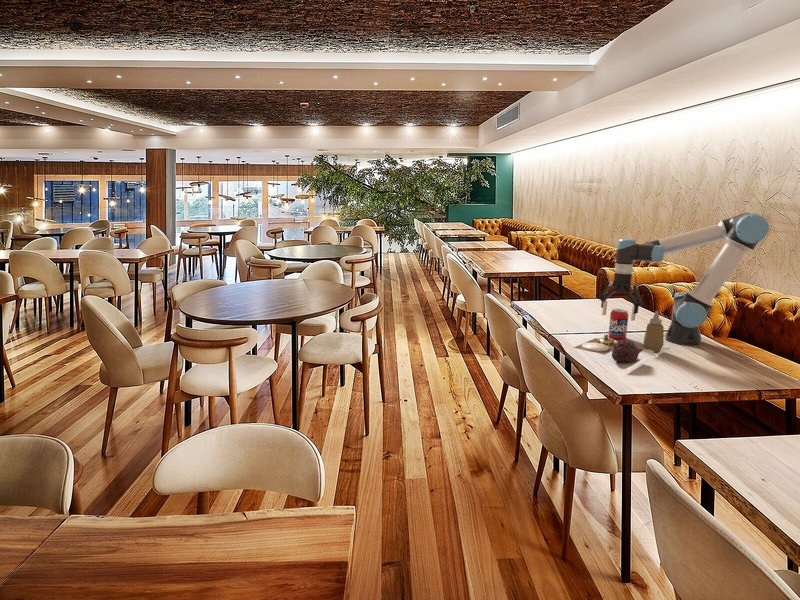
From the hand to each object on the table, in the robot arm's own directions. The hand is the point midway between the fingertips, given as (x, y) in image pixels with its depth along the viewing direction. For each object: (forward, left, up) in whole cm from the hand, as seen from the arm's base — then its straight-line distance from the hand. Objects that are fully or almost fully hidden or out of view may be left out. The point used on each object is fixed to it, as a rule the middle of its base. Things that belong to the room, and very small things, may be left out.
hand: (618, 317), depth 251 cm
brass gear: (0, +13, -10) cm, 16 cm away
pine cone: (-16, +32, -12) cm, 38 cm away
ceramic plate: (0, +23, -10) cm, 25 cm away
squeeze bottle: (-18, +5, -12) cm, 22 cm away
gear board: (0, +19, -11) cm, 22 cm away
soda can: (0, 0, -12) cm, 12 cm away
